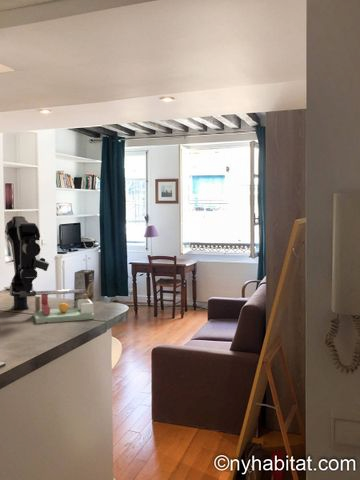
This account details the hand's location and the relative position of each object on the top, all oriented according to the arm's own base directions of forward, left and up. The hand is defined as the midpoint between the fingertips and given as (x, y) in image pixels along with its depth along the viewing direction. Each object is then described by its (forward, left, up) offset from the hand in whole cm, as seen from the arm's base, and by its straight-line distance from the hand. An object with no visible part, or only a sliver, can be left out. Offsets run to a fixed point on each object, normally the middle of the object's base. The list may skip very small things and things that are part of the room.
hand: (27, 290), depth 185 cm
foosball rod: (+4, +10, -8) cm, 14 cm away
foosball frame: (+6, +14, -11) cm, 19 cm away
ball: (+6, +14, -7) cm, 17 cm away
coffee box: (-12, +26, -11) cm, 31 cm away
